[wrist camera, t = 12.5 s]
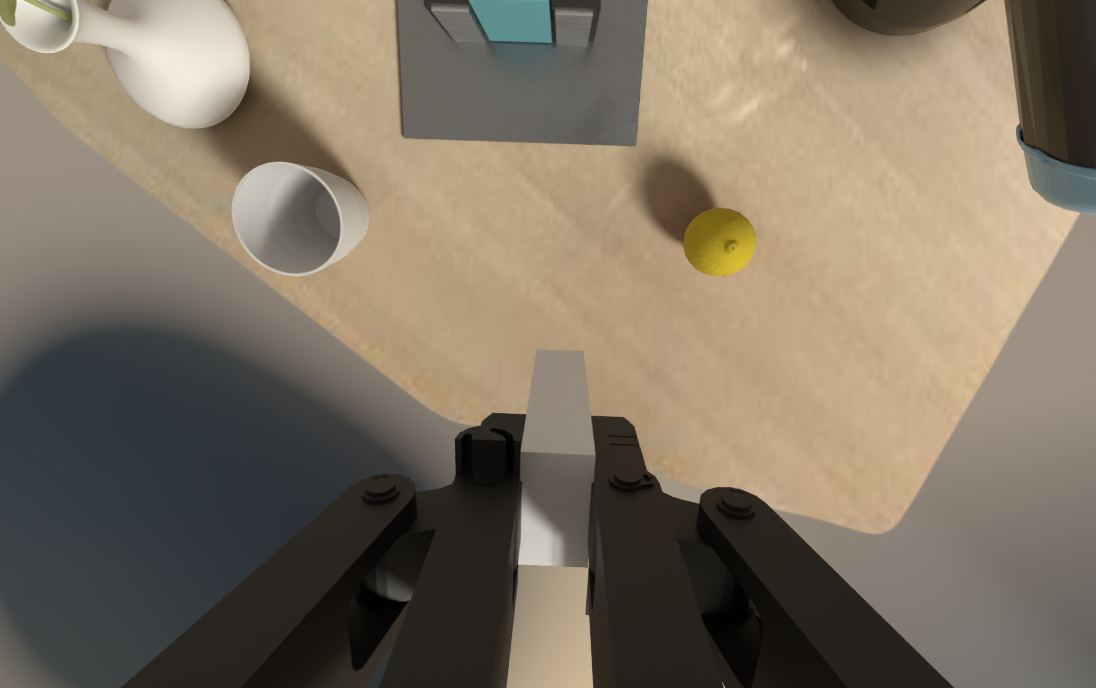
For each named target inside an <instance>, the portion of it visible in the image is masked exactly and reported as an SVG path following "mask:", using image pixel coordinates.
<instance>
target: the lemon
mask: <svg viewBox="0 0 1096 688" xmlns="http://www.w3.org/2000/svg"><path fill="white" fill-rule="evenodd" d="M683 247H684V251H685V255H686V257H687V259H688V260H689V262H690V263H691V264H692V265H693V266H694V267H695V268H696V269H697V270H699V271H701V272H702V273H704V274H708V275H712V276H725V275H730V274H733V273H735V272H737V271H739V270H741V269H742V268H743V267H744V266H746V265H747V263H748V262H749V261H750V260H751V258H752V256H753V254H754V251H755V247H756V235H755V232H754V229H753V227H752V225H751V224H750V222H749V221H748V219H747V218H745V217H744V216H743V215H742V214H740V213H739V212H736V211H734V210H732V209H726V208H715V209H710V210H707V211H705V212H702V213H701V214H699V215H698V216H697V217H695V218H694V219H693V220H692V222H691V223H690V224H689V226H688V228H687V229H686V231H685V235H684V244H683Z"/></svg>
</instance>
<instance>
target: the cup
mask: <svg viewBox="0 0 1096 688" xmlns="http://www.w3.org/2000/svg"><path fill="white" fill-rule="evenodd" d="M232 219H233V224H234V228H235V231H236V234H237V236H238V238H239V240H240V242H241V244H242V245H243V247H244V248H245V249H246V251H247V252H248V253H249V254H250V255H251V256H252V257H253V258H254V259H255V260H256V261H257V262H258V263H260V264H261V265H262V266H264V267H266V268H267V269H269V270H271V271H274V272H276V273H279V274H283V275H288V276H305V275H309V274H313V273H315V272H317V271H319V270H321V269H323V268H325V267H327V266H329V265H331V264H332V263H334V262H336V261H338V260H340V259H342V258H343V257H345V256H346V255H347V254H348V253H349V252H350V251H351V250H352V249H353V248H354V247H356V246H357V245H358V244H359V243H360V242H361V240H362V239H363V238H364V236H365V234H366V232H367V229H368V225H369V222H370V209H369V206H368V203H367V201H366V199H365V198H364V196H363V195H362V194H361V193H360V192H359V191H358V189H357V188H356V187H355V186H354V185H352V184H351V183H350V182H348V181H347V180H345V179H343V178H341V177H339V176H336V175H334V174H332V173H330V172H328V171H325V170H323V169H319V168H315V167H310V166H304V165H299V164H294V163H288V162H270V163H266V164H263V165H260V166H258V167H256V168H254V169H252V170H251V171H250V172H248V173H247V174H246V175H245V176H244V177H243V179H242V180H241V181H240V183H239V184H238V186H237V188H236V191H235V193H234V197H233V201H232Z"/></svg>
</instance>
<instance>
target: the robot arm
mask: <svg viewBox="0 0 1096 688" xmlns="http://www.w3.org/2000/svg"><path fill="white" fill-rule="evenodd" d="M833 1H834V3H835V4H836V6H837V7H838V8H839V9H840V10H841V11H842V12H843V13H844V14H845V15H846V16H847V17H848V18H849V19H850V20H852V21H853V22H854V23H856V24H858V25H859V26H861V27H863V28H865V29H867V30H870V31H873V32H876V33H880V34H885V35H895V36H896V35H911V34H917V33H921V32H925V31H928V30H931V29H933V28H936V27H938V26H941V25H943V24H945V23H948V22H950V21H953V20H955V19H957V18H959V17H961V16H963V15H965V14H967V13H968V12H970V11H972V10H973V9H975V8H976V7H978V6H979V5H981V4H982V3H983V2H985V1H986V0H833ZM1004 3H1005V10H1006V18H1007V26H1008V34H1009V42H1010V50H1011V58H1012V65H1013V73H1014V81H1015V89H1016V97H1017V105H1018V113H1019V120H1020V124H1019V125H1018V126H1017V129H1016V137H1017V141H1018V143H1019V144H1020V146H1021V148H1022V150H1023V151H1024V155H1025V160H1026V166H1027V171H1028V176H1029V181H1030V184H1031V186H1032V188H1033V189H1034V190H1035V191H1036V192H1037V193H1039V195H1040V196H1041V197H1043V198H1044V199H1045V200H1046V201H1047V202H1049V203H1051V204H1053V205H1055V206H1058V207H1061V208H1063V209H1067V210H1070V211H1075V212H1079V213H1085V214H1092V215H1096V0H1004ZM455 462H456V475H455V478H454V481H453V483H452V484H451V485H448V486H445V487H443V488H439V489H435V490H429V491H423V492H416V488H415V484H414V483H413V482H412V481H411V480H410V479H409V478H407V477H404V476H401V475H396V474H381V475H380V474H379V475H373V476H371V477H368V478H365V479H362V480H360V481H358V482H357V483H355V484H354V485H352V486H351V487H350V488H348V489H347V490H346V491H345V492H344V493H343V494H342V495H340V497H338V498H337V499H336V500H335V501H334V502H332V503H331V504H330V505H329V506H328V507H327V508H326V509H324V510H323V511H322V512H321V513H320V514H319V515H318V516H316V517H315V518H314V519H313V520H312V521H311V522H310V523H308V524H307V525H306V526H305V527H304V528H303V529H302V530H301V531H299V532H298V533H297V534H296V535H295V536H294V537H292V538H291V539H290V540H289V541H288V542H287V543H286V544H285V545H283V546H282V547H281V548H280V549H279V550H278V551H277V552H275V553H274V554H273V555H272V556H271V557H270V558H269V559H267V560H266V561H265V562H264V563H263V564H262V565H261V566H260V567H258V568H257V569H256V570H255V571H254V572H253V573H251V574H250V575H249V576H248V577H247V578H246V579H245V580H244V581H242V582H241V583H240V584H239V585H238V586H237V587H236V588H234V589H233V590H232V591H231V592H230V593H229V594H227V596H225V597H224V598H223V599H222V600H221V601H219V602H218V603H217V604H216V605H215V606H214V607H213V608H211V609H210V610H209V611H208V612H207V613H206V614H205V615H203V616H202V617H201V618H200V619H199V620H198V621H197V622H196V623H194V624H193V625H192V626H191V627H190V628H189V629H187V631H185V632H184V633H183V634H182V635H181V636H179V637H178V638H177V639H176V640H175V641H174V642H173V643H172V644H170V645H169V646H168V647H167V648H166V649H165V650H164V651H162V652H161V653H160V654H159V655H158V656H157V657H156V658H154V659H153V660H152V661H151V662H150V663H149V664H148V665H146V666H145V667H144V668H143V669H142V670H141V671H140V672H138V674H136V675H135V676H134V677H133V678H132V679H131V680H129V681H128V682H127V683H126V684H125V685H124V686H122V687H121V688H367V686H368V685H369V683H370V682H371V680H372V678H373V677H374V675H375V674H376V672H377V671H378V669H379V668H380V666H381V665H382V663H383V662H384V660H385V658H386V657H387V656H388V654H389V652H390V651H391V649H392V648H393V646H394V648H393V651H392V654H391V656H390V659H389V662H388V665H387V667H386V670H385V673H384V676H383V678H382V682H381V684H380V687H379V688H506V686H507V677H508V668H509V658H510V649H511V639H512V630H513V622H514V611H515V602H516V594H517V585H518V564H525V565H546V566H566V567H588V556H589V572H588V585H587V600H586V615H589V617H590V618H589V619H590V637H591V656H592V673H593V688H724V687H723V684H724V686H725V688H954V687H953V686H952V685H951V684H950V683H949V682H948V681H946V680H945V678H943V677H942V676H941V675H940V674H939V673H938V672H937V671H936V670H935V669H934V668H933V667H932V666H931V665H930V664H929V663H928V662H927V661H926V660H925V659H924V658H923V657H922V656H921V655H920V654H919V653H918V652H917V651H916V650H915V649H914V648H913V647H912V646H911V645H910V644H909V643H908V642H907V641H905V639H904V638H903V637H902V636H901V635H900V634H899V633H898V632H897V631H896V630H894V628H892V626H891V625H889V624H888V622H886V621H885V620H884V619H883V618H882V617H881V616H880V615H879V614H878V613H877V612H876V611H875V610H874V609H873V608H872V607H871V606H870V605H869V604H868V603H867V602H866V601H865V600H864V599H863V598H862V597H861V596H860V595H859V594H858V593H857V592H856V591H855V590H854V589H853V588H852V587H851V586H850V585H849V584H848V583H847V582H846V581H845V580H844V579H843V578H842V577H841V576H840V575H839V574H838V573H837V572H836V571H835V570H834V569H833V568H832V567H831V566H830V565H828V564H827V563H826V562H825V561H824V560H823V559H822V558H821V557H820V556H819V555H818V554H817V553H816V552H815V551H814V550H813V549H812V548H811V547H810V546H809V545H808V544H807V543H806V542H805V541H804V540H803V539H802V538H801V537H800V536H799V535H798V534H797V533H796V532H795V531H794V530H793V529H792V528H791V527H790V526H789V525H788V524H787V523H786V522H785V521H784V520H783V519H782V518H781V517H780V516H779V515H778V514H777V513H776V512H774V510H772V509H771V508H770V507H769V506H768V505H767V504H766V503H765V502H764V501H762V500H761V499H760V498H758V497H757V496H755V495H753V494H751V493H748V492H746V491H744V490H741V489H735V488H731V487H716V488H712V489H708V490H706V491H705V492H704V493H703V494H701V498H700V503H699V504H698V503H694V502H690V501H685V500H681V499H678V498H675V497H672V496H670V495H668V494H666V493H664V492H662V489H661V486H660V483H659V482H658V480H657V479H656V477H655V476H654V475H652V474H651V473H649V472H648V471H647V469H646V466H645V462H644V459H643V455H642V452H641V448H640V447H639V441H638V438H637V434H636V431H635V427H634V426H633V425H632V424H631V423H630V422H629V421H628V420H627V419H625V418H624V417H608V416H591V412H590V404H589V395H588V387H587V378H586V370H585V361H584V353H583V351H562V350H538V349H537V350H536V357H535V363H534V369H533V376H532V382H531V389H530V395H529V401H528V408H527V414H506V413H492V414H491V415H489V416H488V417H487V418H486V419H484V420H483V421H482V423H481V426H476V427H472V428H468V429H466V430H464V431H463V432H460V433H459V434H458V436H457V437H456V438H455ZM722 683H723V684H722Z"/></svg>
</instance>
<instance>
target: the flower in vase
mask: <svg viewBox="0 0 1096 688" xmlns="http://www.w3.org/2000/svg"><path fill="white" fill-rule="evenodd" d="M0 21H1V23H2V25H3V26H4V27H5V29H6V30H7V31H8V33H9V34H10V35H11V36H12V37H13V38H14V39H15V40H16V41H18V42H19V43H20V44H22V45H23V46H25V47H27V48H29V49H31V50H34V51H37V52H41V53H53V52H58V51H61V50H63V49H65V48H66V47H68V46H69V45H70V44H71V43H73V42H85V43H92V44H98V45H102V46H106V50H107V55H108V58H109V61H110V64H111V66H112V69H113V71H114V73H115V75H116V77H117V79H118V80H119V82H120V84H121V85H122V86H123V88H124V89H125V91H126V92H127V93H128V94H129V95H130V97H131V98H132V99H133V100H134V101H135V102H136V103H138V104H139V105H140V106H141V107H142V108H144V109H145V110H146V111H148V112H149V113H150V114H152V115H153V116H155V117H156V118H158V119H160V120H162V121H164V122H166V123H168V124H171V125H174V126H177V127H181V128H187V129H199V128H206V127H210V126H213V125H216V124H218V123H220V122H222V121H223V120H225V119H226V118H228V117H229V116H230V115H231V114H232V113H233V112H234V111H235V110H236V108H237V107H238V106H239V104H240V102H241V101H242V99H243V97H244V94H245V92H246V89H247V85H248V81H249V73H250V59H249V51H248V46H247V42H246V39H245V36H244V33H243V30H242V28H241V26H240V24H239V22H238V20H237V18H236V16H235V15H234V13H233V12H232V10H231V9H230V7H229V6H228V5H227V4H226V2H225V1H224V0H112V1H111V3H110V5H109V7H108V11H106V10H104V9H101V8H99V7H97V6H95V5H93V4H91V3H89V2H87V1H85V0H0Z"/></svg>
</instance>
